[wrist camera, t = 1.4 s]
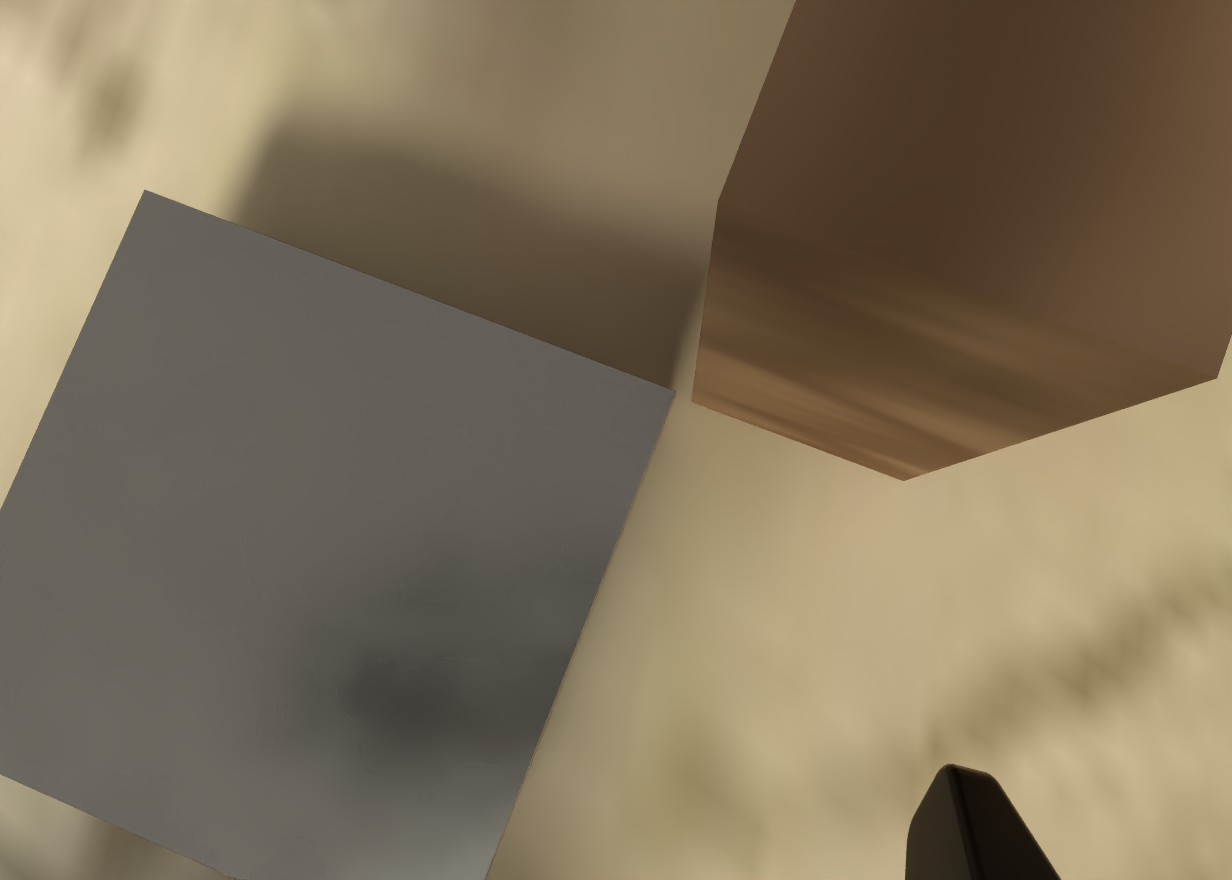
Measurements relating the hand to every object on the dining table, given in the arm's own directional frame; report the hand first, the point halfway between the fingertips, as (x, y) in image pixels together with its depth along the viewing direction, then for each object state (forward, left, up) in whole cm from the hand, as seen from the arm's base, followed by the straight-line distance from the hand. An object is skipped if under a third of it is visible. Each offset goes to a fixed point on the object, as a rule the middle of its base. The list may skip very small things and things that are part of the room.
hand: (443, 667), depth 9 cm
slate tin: (+5, +3, -14) cm, 15 cm away
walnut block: (0, -8, -13) cm, 16 cm away
